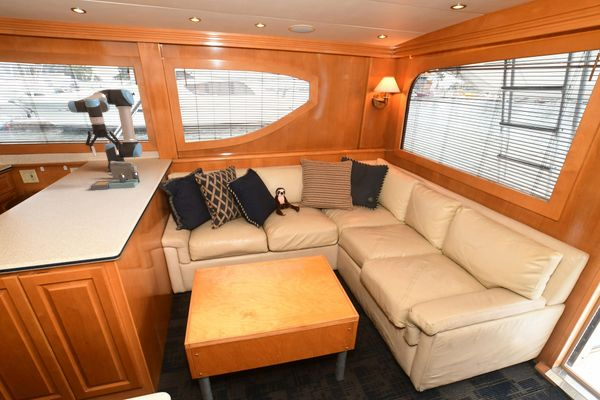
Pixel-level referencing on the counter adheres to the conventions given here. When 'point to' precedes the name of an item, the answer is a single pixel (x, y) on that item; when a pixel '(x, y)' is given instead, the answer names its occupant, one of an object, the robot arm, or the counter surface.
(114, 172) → the geiger counter
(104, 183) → the orange square tile
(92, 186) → the grey square tray
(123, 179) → the cell
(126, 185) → the trough
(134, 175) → the cell
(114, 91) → the robot arm
